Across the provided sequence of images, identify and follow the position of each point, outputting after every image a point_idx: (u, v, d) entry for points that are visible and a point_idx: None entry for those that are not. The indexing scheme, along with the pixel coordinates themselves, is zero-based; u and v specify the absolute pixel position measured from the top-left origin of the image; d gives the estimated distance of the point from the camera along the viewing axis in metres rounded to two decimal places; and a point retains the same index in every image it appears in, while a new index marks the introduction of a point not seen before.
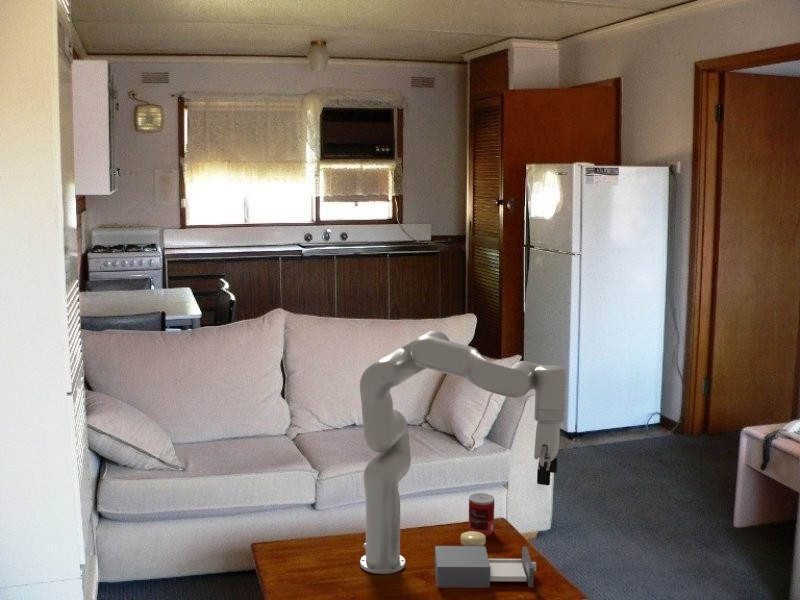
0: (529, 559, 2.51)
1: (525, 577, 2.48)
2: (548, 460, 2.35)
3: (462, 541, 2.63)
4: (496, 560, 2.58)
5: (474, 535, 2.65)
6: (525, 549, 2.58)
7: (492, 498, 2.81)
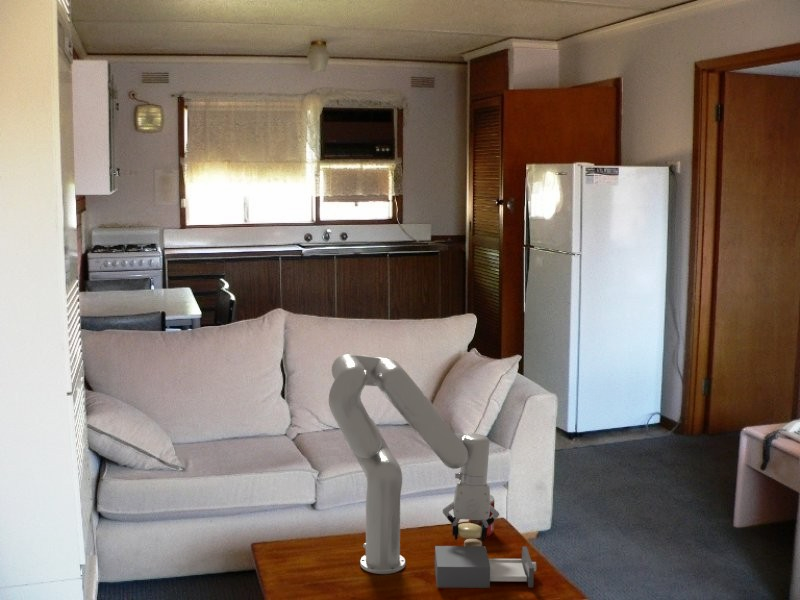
0: (529, 559, 2.51)
1: (525, 577, 2.48)
2: None
3: (459, 532, 2.62)
4: (496, 560, 2.58)
5: (470, 527, 2.64)
6: (525, 549, 2.58)
7: (492, 498, 2.81)
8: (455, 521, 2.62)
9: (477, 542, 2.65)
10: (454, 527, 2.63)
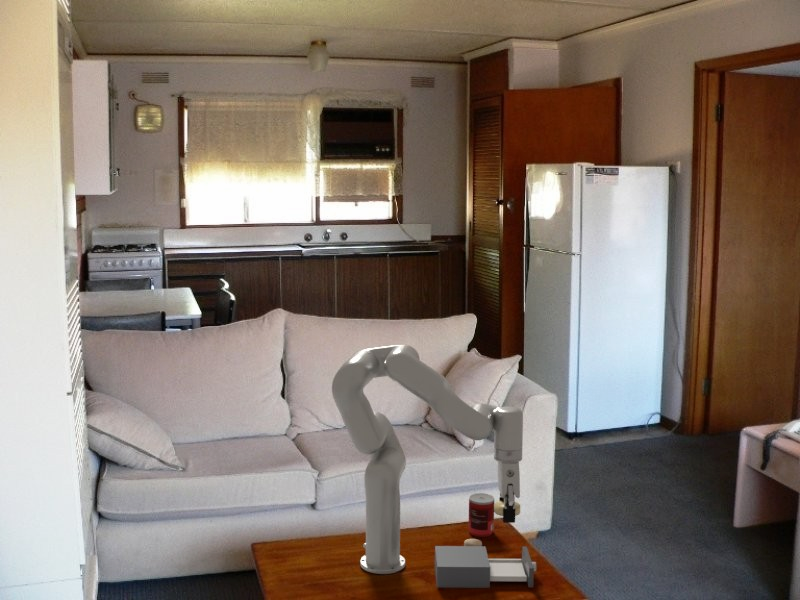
0: (529, 559, 2.51)
1: (525, 577, 2.48)
2: None
3: None
4: (496, 560, 2.58)
5: None
6: (525, 549, 2.58)
7: (492, 498, 2.81)
8: (514, 503, 2.46)
9: (477, 542, 2.65)
10: (512, 510, 2.47)
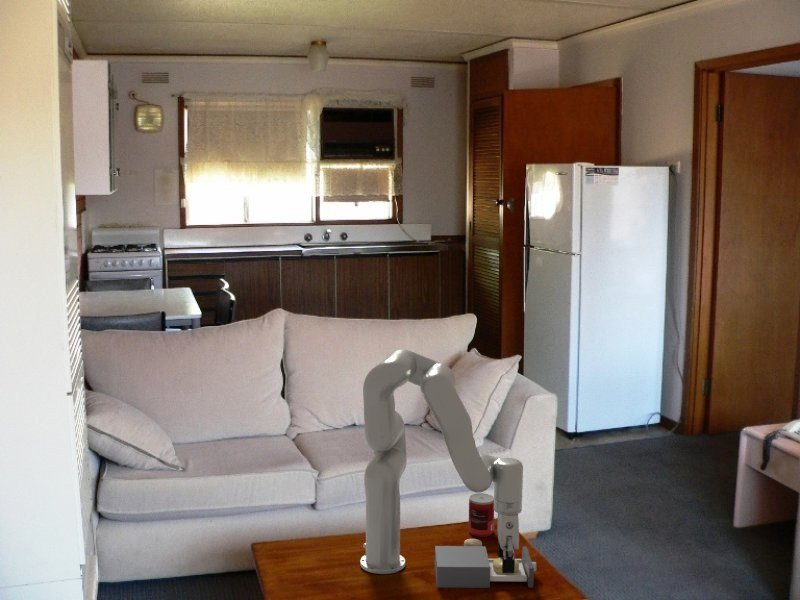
0: (529, 559, 2.51)
1: (525, 577, 2.48)
2: None
3: None
4: None
5: None
6: (525, 549, 2.58)
7: (492, 498, 2.81)
8: None
9: (477, 542, 2.65)
10: (511, 561, 2.47)
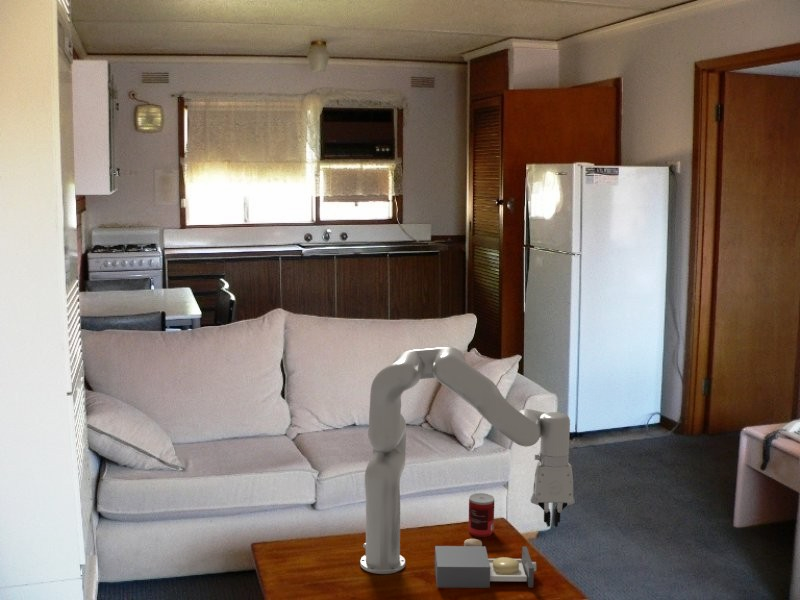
0: (529, 559, 2.51)
1: (525, 577, 2.48)
2: None
3: (513, 571, 2.50)
4: None
5: (503, 562, 2.53)
6: (525, 549, 2.58)
7: (492, 498, 2.81)
8: (547, 507, 2.49)
9: (477, 542, 2.65)
10: (546, 513, 2.50)
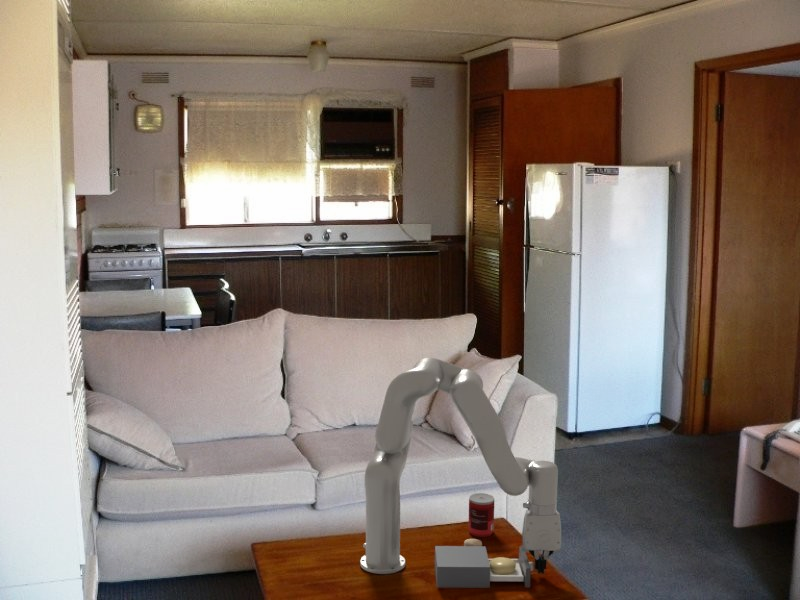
0: (526, 559, 2.51)
1: (522, 577, 2.48)
2: None
3: (510, 571, 2.50)
4: None
5: (500, 562, 2.53)
6: None
7: (492, 498, 2.81)
8: (538, 554, 2.51)
9: (477, 542, 2.65)
10: (537, 560, 2.52)
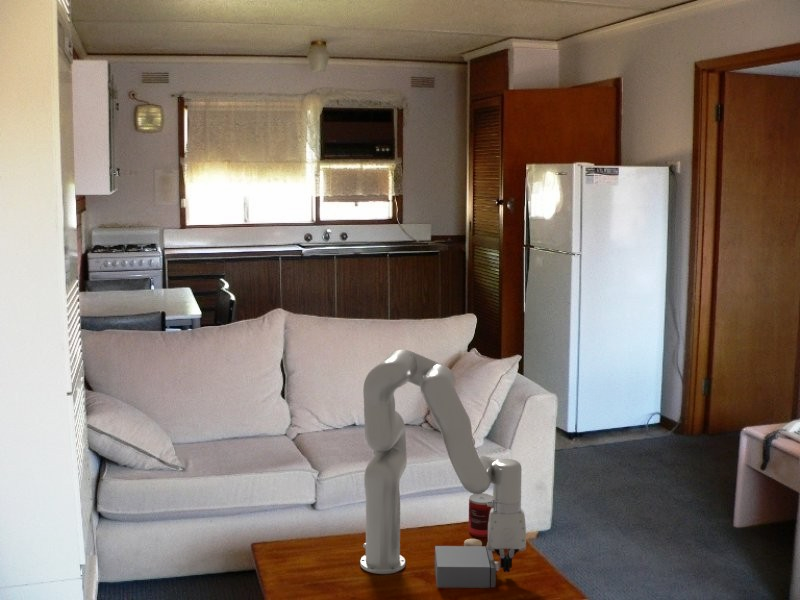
0: (492, 559, 2.51)
1: None
2: None
3: None
4: None
5: None
6: None
7: (492, 498, 2.81)
8: (503, 553, 2.51)
9: (477, 542, 2.65)
10: (502, 559, 2.52)
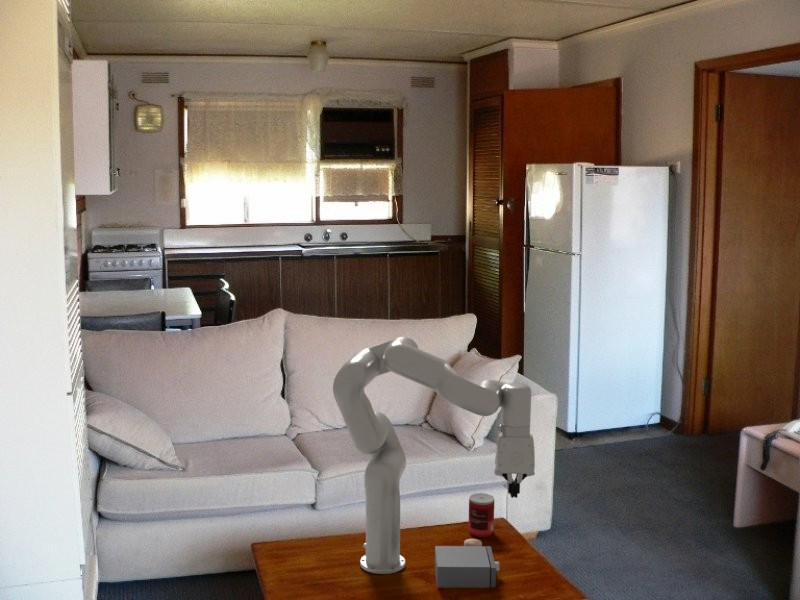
0: (492, 559, 2.51)
1: None
2: None
3: None
4: None
5: None
6: (489, 549, 2.57)
7: (492, 498, 2.81)
8: (511, 478, 2.48)
9: (477, 542, 2.65)
10: (510, 484, 2.49)
